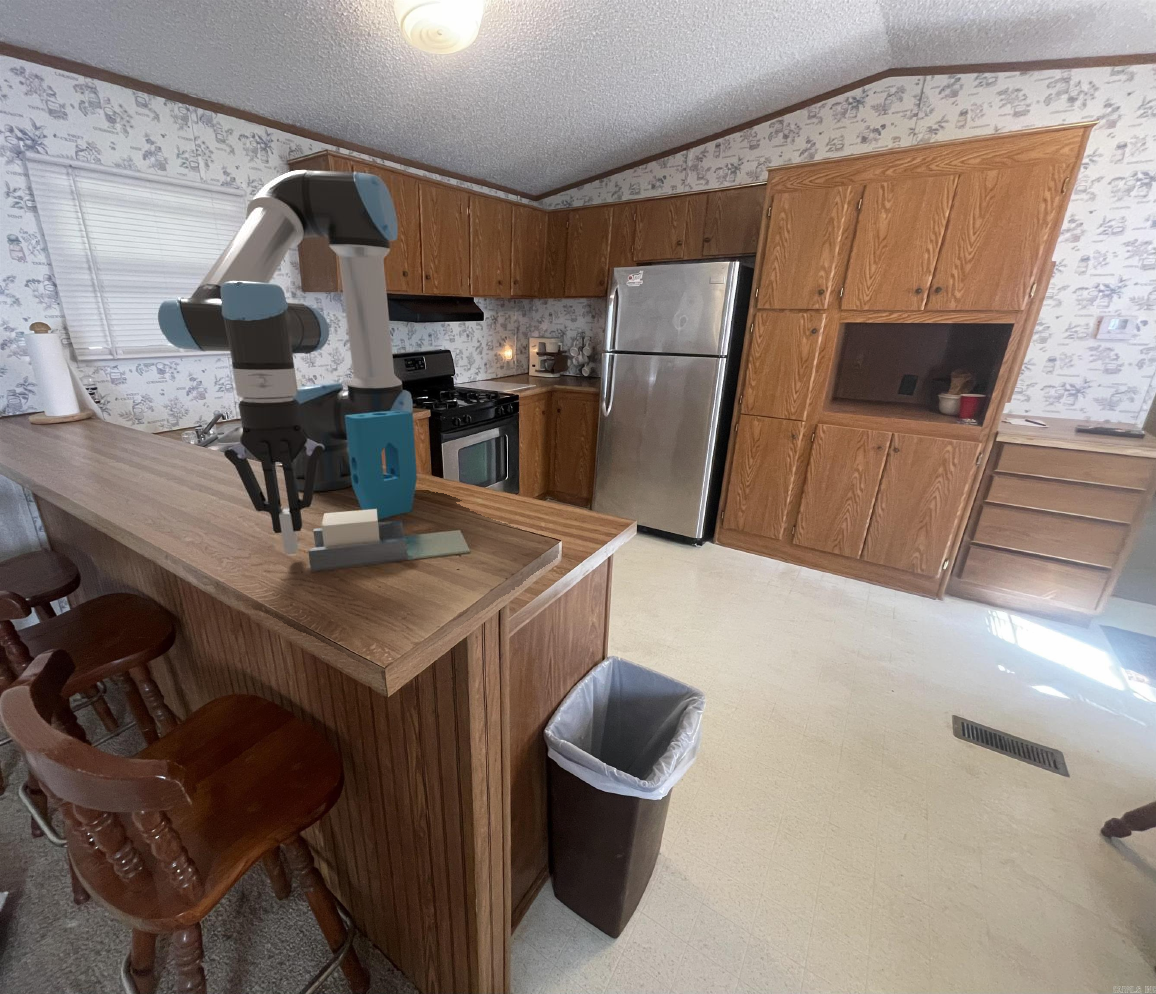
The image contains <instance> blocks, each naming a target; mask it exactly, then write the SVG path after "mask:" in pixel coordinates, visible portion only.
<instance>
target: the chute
mask: <svg viewBox="0 0 1156 994" xmlns="http://www.w3.org/2000/svg"><path fill="white" fill-rule="evenodd" d="M378 528H379V539H380V541H373V542H363V543H354V544H345V545H335V546H326V547H324V542H323V534H322V527H320V528H319V527H318V528H313V539H314V547H310V548H308V550H307V551H308V552H307V553H308V560H309V567H310V572H311V573H313V572H314V573H315V572H321V571H330V570H337V569H346V568H354V567H362V566H363V567H364V566H371V565H381V564H387V563H394V562H395V563H396V562H402V561H410V560H419V559H420V560H421V559H428V558H435V557H436V558H437V557H444V556H452V555H459V554H469V553H470V552H471V550H470V549H469V545H468V544H467V541H466V539H465V537H464V535H463V534H462V531H461V530H460V529H458V530H450V531H449V530H448V531H438V532H430V533H429V532H428V533H420V534H411V535H410V534H409V535H405V534H404V522H403V520H392V521H391V520H390V521H382V522H379V521H378Z"/></svg>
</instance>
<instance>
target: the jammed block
mask: <svg viewBox="0 0 1156 994" xmlns="http://www.w3.org/2000/svg"><path fill="white" fill-rule="evenodd" d="M378 523H379V520H378V517H377V509H370V510H362V509H359V510H350V511H337V512H325V513H324V514H323V517H322V521H321V528H322V534H323V542H324V547H326V546H335V545H345V544H354V543H363V542H373V541H380V539H379V528H378Z"/></svg>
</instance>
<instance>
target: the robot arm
mask: <svg viewBox="0 0 1156 994" xmlns="http://www.w3.org/2000/svg"><path fill="white" fill-rule="evenodd" d="M246 215H247V218H246V219H245V221H244V222H243V224H242V225H241V226H240V227H239V229H238V231H237V232H236V233H235V235H233V237H232V239H231V240H230V241H229V243H228V245H226V247H225V249H224V250H223V251H222V253H221V254H220V255H219V257H218V258H217V260H216V261H215V263H214V264H213V265H212V266H211V269H210V270H209V271H208V273H207V274H206V275H205V276H204V278H203V279H202V281H201V282H200V284H199V285H198V286H197V288H196V290H195V291H194V292H193V294H192V295H191V296H190V297H189V298H184V297H178V298H169V299H166V300H164V301H163V302H161V304H160V306H159V308H158V310H157V311H158V312H157V313H158V314H157V320H158V322H157V323H158V325H159V326H158V327H159V328H160V330H161V333H162V335H163V336H164V337H165V339H167V341H168V342H169V343H170V344H171V345H172V346H174V347H177V348H179V349H183V350H189V351H194V350H195V351H200V352H230V353H229V354H230V358H231V366H232V374H233V380H234V385H235V391H236V395H237V396H238V397H239V398H241V399H242V400H241V401H239V403H238V409H239V414H240V415H239V416H240V421H241V427H242V428H241V429H242V434H241V435H240V437H239V438H240V439H239V441H240V442H238V443H237V444H235V445H234V446H230V447H228V448H227V449H226V450H225V451H224V453H223V454H224V457H225V458H226V459H227V460H228V461H229V462H231V464H232V465H233V466H234V467H235V469H236V471H237V473H238V475H239V478H240V480H241V482H242V484H243V486H244V488H245V490H246V492H247V494H248V497H249V499H250V501H251V502H252V504H253V507H254V509H255V510H256V511H257V512H266V513H269V515H270V517H271V525H272V529H273V532H274V533H275V534H280V533H281V539H282V541H283V542H282V544H283V548H284V555H292V554H296V553H297V551H298V548H299V545H298V537H297V532H301V531H302V528H303V519H302V512H301V510H303V509H306V508H310V507H311V506H312V503H313V499H314V498H313V497H314V492H325V491H333V490H334V491H335V490H340V489H346V488H349V487H353V486H352V479H351V469H350V460H349V450H348V441H347V431H346V422H345V415H353V414H364V413H374V412H384V411H395V410H403V411H408V412H413V410H414V409H413V407H414V405H413V404H414V403H413V398H412V394H411V392H410V391H408V390H406V389H403V382H402V380H401V379H400V378H398V377H397V376H396V374H395V372H394V371H395V369H394V358H393V349H392V338H391V327H390V316H389V315H390V314H389V307H388V305H389V303H388V295H387V285H386V274H385V263H384V259H385V257H387V255H388V254H389V253H390V252H391V246H390V242H393V241H396V240H397V238H398V235H399V234H398V233H399V232H398V229H399V225H398V218H397V212H396V209H395V205H394V201H393V199H392V195H391V193H390V191H389V189H388V186H387V185H386V183H385V182H384V181H383V180H382V178H381V177H380V176H377V175H376V174H371V173H366V172H358V171H336V170H335V171H333V170H332V171H331V170H330V171H329V170H328V171H327V170H311V169H300V170H293V171H290V172H287V173H284V174H282V175H280V176H278V177H276V178H274V179H273V180H271V181H270V182H269V183H267V184H266V185H265V186H263V187H262V188H261V189H260V190H259V191H258V192H257V193H256V194H255V195H254V196H253V197H252V199H251V200H250V201H249V203H248V205H247V207H246ZM306 238H327V240H328V245H329V248H330V249H331V251H332V252H334V253H335V254H336V255H337V256H338V260H339V261H338V262H339V268H340V269H339V270H340V278H341V284H342V293H343V301H344V302H343V303H344V310H345V316H346V318H345V319H346V324H347V325H346V326H347V334H348V340H349V341H348V342H349V351H350V356H351V357H350V358H351V365H352V374H353V375H352V377H351V378H350V379H349V380H348V381H347V383H346V385H347V389H344V386H343V384H342V383H341V382H340V381H339V382H328V383H315V384H310V385H302V386H298V384H297V383H298V382H297V377H296V376H297V373H296V368H295V362H294V354H305V355H308V354H311V353H313V352H317V351H320V350H322V349H323V347H325V345H326V344H328V343H327V342H328V340H329V338H330V327H329V323H328V321H327V320H326V317H325V316H324V315H323V314H322V313H321V312H320V311H319V310H318V309H316V308H315V307H313V306H310V305H307V304H305V303H302V302H298V303H296V302H287V299H286V295H285V291H284V290H283V288H282V287H281V286H280V285H278V284H274V283H270V282H271V280H272V279H273V276H275V274H276V271H277V270H278V269H279V267H280V265H281V264H282V261H283V260H284V258H285V256H286V255H287V253H288V251H289V250H290V248H295V247H297V246H298V245H299V244H300V243H301V242H302V240H303V239H306ZM247 451H248V452H249V453H250V454H251V455H252V456H253V457H255V458H256V459H257V460H258V461H259V462H260V463H261V469H262V471H263V476H264V477H263V478H264V484H265V490H266V495H267V498H266V496H265V494H264V492H263V490H262V488H261V486H260V483H259V481H258V479H257V477H256V475H255V472H254V471H253V468H252V466H251V464H250V462H249V460H248V458H247V456H248V452H247ZM276 463H280V464H281V467H282V468H281V469H282V470H283V477H284V481H285V482H284V483H285V489H286V497H287V502H288V508H282V506H283V505H282V501H281V495H280V489H279V482H278V474H277V469H276V468H277V467H276ZM299 491H302V492H303V494H302V498H300V493H299Z"/></svg>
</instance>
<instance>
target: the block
mask: <svg viewBox="0 0 1156 994" xmlns="http://www.w3.org/2000/svg"><path fill="white" fill-rule="evenodd" d="M345 422H346V431H347V441H348V450H349V460H350V469H351V479H352V486H351V487H352V489H353V492H354V493H355V496H356V499H357V502H358V504H359V506H360V510H370V509H377V517H378V521H379V520H382V519H387V518H389V517H394V516H397V515H398V516H399V515H400V514H401V515H402V514H405V513H409V512H411V511H412V509H413V502H414V497H415V492H416V486H417V480H418V476H417V474H418V473H417V459H416V444H415V443H416V442H415V429H414V426H415V425H414V414H413V411H412V412H408V411H403V410H395V411H384V412H374V413H364V414H353V415H345ZM383 450H384V461H385V471H386V472H385V473H384V469H383V468H384V467H383V457H382V456H383V455H382V452H383Z"/></svg>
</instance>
